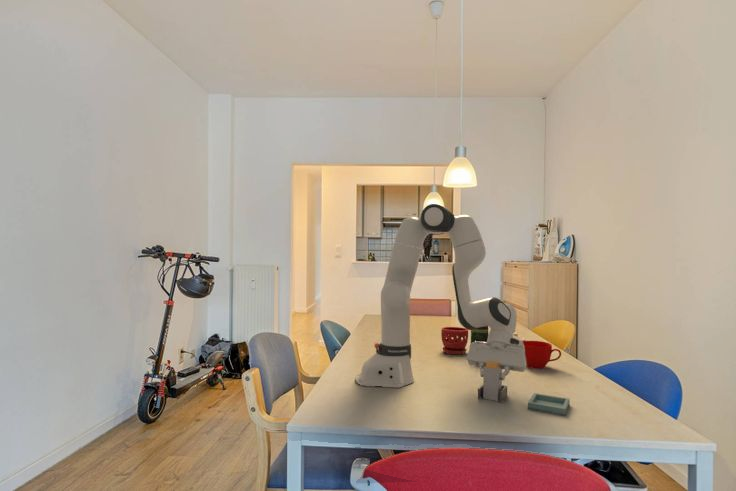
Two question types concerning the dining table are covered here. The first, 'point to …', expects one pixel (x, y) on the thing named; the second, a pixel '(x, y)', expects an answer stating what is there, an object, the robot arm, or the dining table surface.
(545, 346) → the ceramic cup
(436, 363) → the dining table surface
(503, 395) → the bay
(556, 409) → the tray
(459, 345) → the plant pot
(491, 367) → the grey pillar orange cap
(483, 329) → the coffee jar
